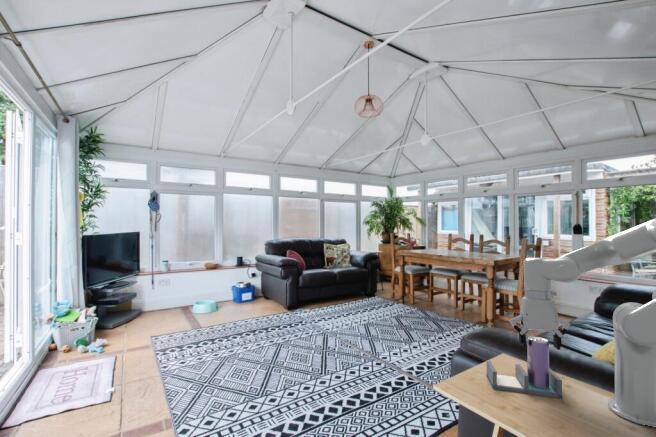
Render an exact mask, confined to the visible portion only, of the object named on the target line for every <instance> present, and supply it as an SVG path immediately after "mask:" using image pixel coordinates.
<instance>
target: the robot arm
mask: <svg viewBox="0 0 656 437" xmlns="http://www.w3.org/2000/svg"><path fill="white" fill-rule="evenodd" d="M655 253H656V217H655V218H653V219H649V220H648V221H646V222H642V223H640V224H637V225H635V226H633V227H629V228H628V229H625V230H623V231H620V232H617V233H615V234H612V235H611V236H610V235H609V236H608V237H604V238H603V239H600V240H598V241H596V242H594V243H592V244H588V245H587V246H584V247H581V248H578V249H576V250H574V251H570V252H569V253H568V252H567V253H566V254H564V255H562V256H558V257H557V258H555V259H548V258H544V257H526V258H525V259H524V260H523V281H524V282H523V284H524V285H523V286H524V296H523V297H521V301H520V310H519V315H516V316H515V317H512V318H510V319H509V320H508V321H509V323H510V324H511V325H512V326H511V327H513V329H514V330H515V331H517V333H518V339H519V340H518V342H519V343H520V344H521V346H523V348H526V347H527V336H526V334H525V333H527V332H528V330H530V331H542V332H543V331H546V332H553V333H554V334H553V347H554V348H555V349H557V351H560V350H561V347H562V338H563V337H564V335H565V334H566V333H568V330H569V329H570V327H571V323H569V322H567V321H566V320H564V319H562V318H560V317H559V314H558V309H557V305H556V302H555V300H554V299H553V297H557V296H558V293H557V291H553V290H552V281H554V282H559V283H567V284H570V283H574V282H577V281H578V280H579V279H580V278H581V276H582V275H583V274H585V273H588V272H591V271H594V270H597V269H600V268H605V267H609V266H619V265H624V264H628V263H631V262H633V261H636V260H639V259H643V258H644V257H647V256H650V255H654V254H655ZM651 296H652V297H651V298H652V300H650V301H648V302H646V303H645V304H642V303H639V302H629V301H628V302H624V303H622V304H620V305H618V306H617V307H616V308H615V310H614V311H613V315H612V327H613V334H614V335H613V338H614V398H611V399H609V400H608V401H607V406H608V408H609V409H610V410H611V411H612V413H614V414H616V415H617V416H618V417H621V418H623V419H625V420H628V421H630V422H632V423H635V424H638V425H641V424H642V426H645V425H648V426H647V427H649V426H654V427H653V428H655V426H656V288H655V289H654V290H653V292H652V295H651ZM517 322H520V326H518V325H517ZM559 324H561V325H562V327H561V328H560V329H559V327H560V325H559Z"/></svg>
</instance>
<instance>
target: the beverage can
mask: <svg viewBox="0 0 656 437" xmlns="http://www.w3.org/2000/svg"><path fill="white" fill-rule="evenodd" d="M526 347H527V348H526V349H527V351H526V352H527V356H526V357H527V364H526V365H527V368H526V369H527V371H526V373H527V375H528V376H529V384H530V385H532V386H533V387H536V388H540V389H547V388H548V387H549V368H550V343H549V340H548V339H546V338H544V337H541V336H534V335H533V336H528V337H527V339H526Z"/></svg>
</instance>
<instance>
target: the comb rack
mask: <svg viewBox="0 0 656 437" xmlns="http://www.w3.org/2000/svg"><path fill="white" fill-rule="evenodd" d="M486 378H487V379H488V382H489V384H490V386H491V388H492V389H493V390H494V389H495V390H501V391H508V392H509V391H510V392H516V393H522V394H523V393H524V394H530V395H536V396H543V397H551V398H557V399H563V380H562V379H561V378H560V377H559V376H558V374H556V372H554V371H553V370H552V368H550V367H549V387H548V388H547V389H540V388H536V387H533V386H532V385H530V384H529V376H528V375H527V371H525V369H524V368H523V367H522V366H521V365H520V363H515V376H512V375H504V374H498V372H497V370H496V368H495V367H494V364H493V363H492V362H491V360H488V359H487V360H486Z"/></svg>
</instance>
